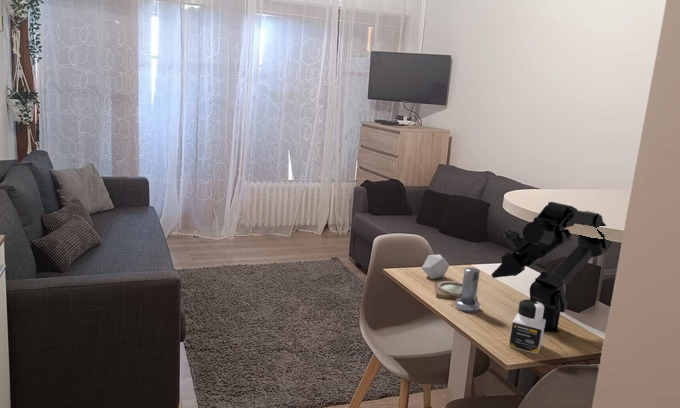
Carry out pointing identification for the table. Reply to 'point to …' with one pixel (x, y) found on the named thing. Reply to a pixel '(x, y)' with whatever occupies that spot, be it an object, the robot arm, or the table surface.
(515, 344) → the medicine bottle
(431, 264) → the die
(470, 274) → the silver round peg
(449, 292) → the board
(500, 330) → the table surface
